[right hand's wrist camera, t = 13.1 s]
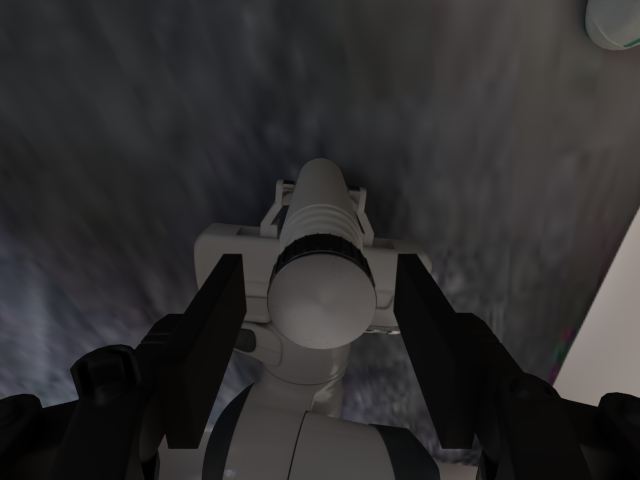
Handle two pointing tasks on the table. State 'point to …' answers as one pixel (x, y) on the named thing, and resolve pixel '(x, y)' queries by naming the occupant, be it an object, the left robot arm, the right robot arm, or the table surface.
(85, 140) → the table surface
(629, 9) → the ballet flat
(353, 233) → the bottle
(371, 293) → the cap
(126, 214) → the table surface
